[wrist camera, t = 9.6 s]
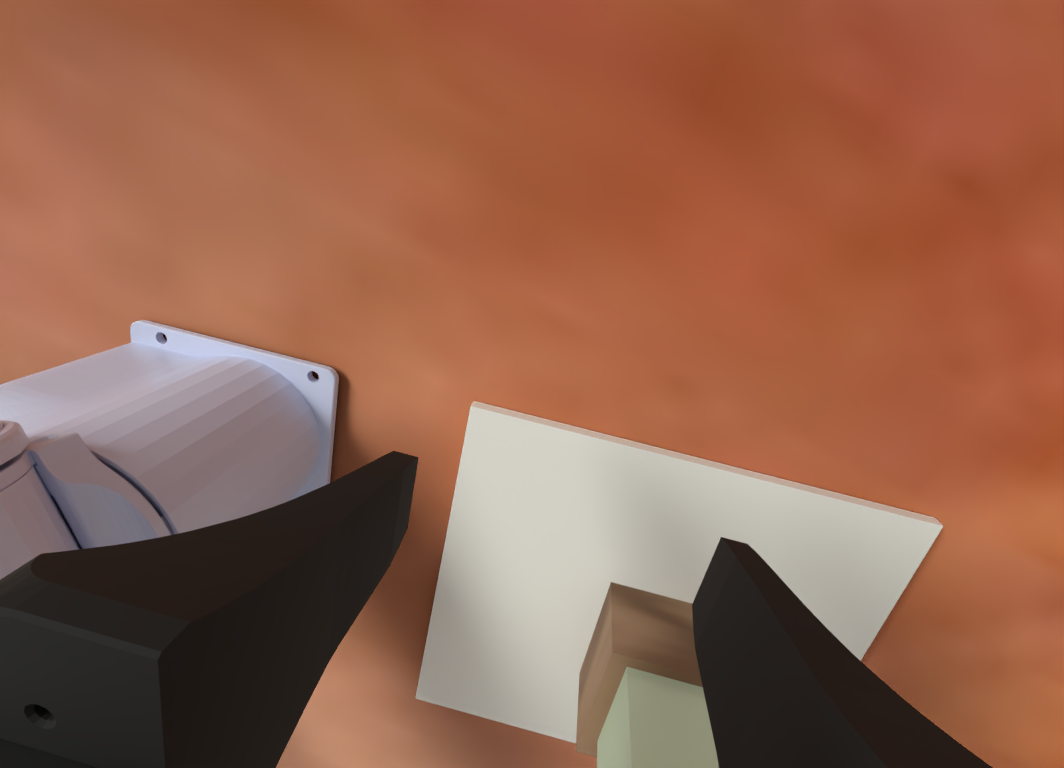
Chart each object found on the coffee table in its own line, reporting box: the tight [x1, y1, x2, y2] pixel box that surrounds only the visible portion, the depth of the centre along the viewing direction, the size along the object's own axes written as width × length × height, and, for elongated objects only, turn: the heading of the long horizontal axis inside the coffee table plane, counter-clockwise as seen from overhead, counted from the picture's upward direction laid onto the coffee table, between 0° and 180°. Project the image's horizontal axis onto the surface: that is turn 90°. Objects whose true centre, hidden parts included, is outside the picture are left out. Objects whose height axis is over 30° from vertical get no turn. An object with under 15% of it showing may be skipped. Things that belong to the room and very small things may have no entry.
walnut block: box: [576, 582, 703, 757], centre depth 23 cm, size 6×6×4 cm
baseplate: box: [415, 401, 943, 743], centre depth 25 cm, size 20×18×1 cm
